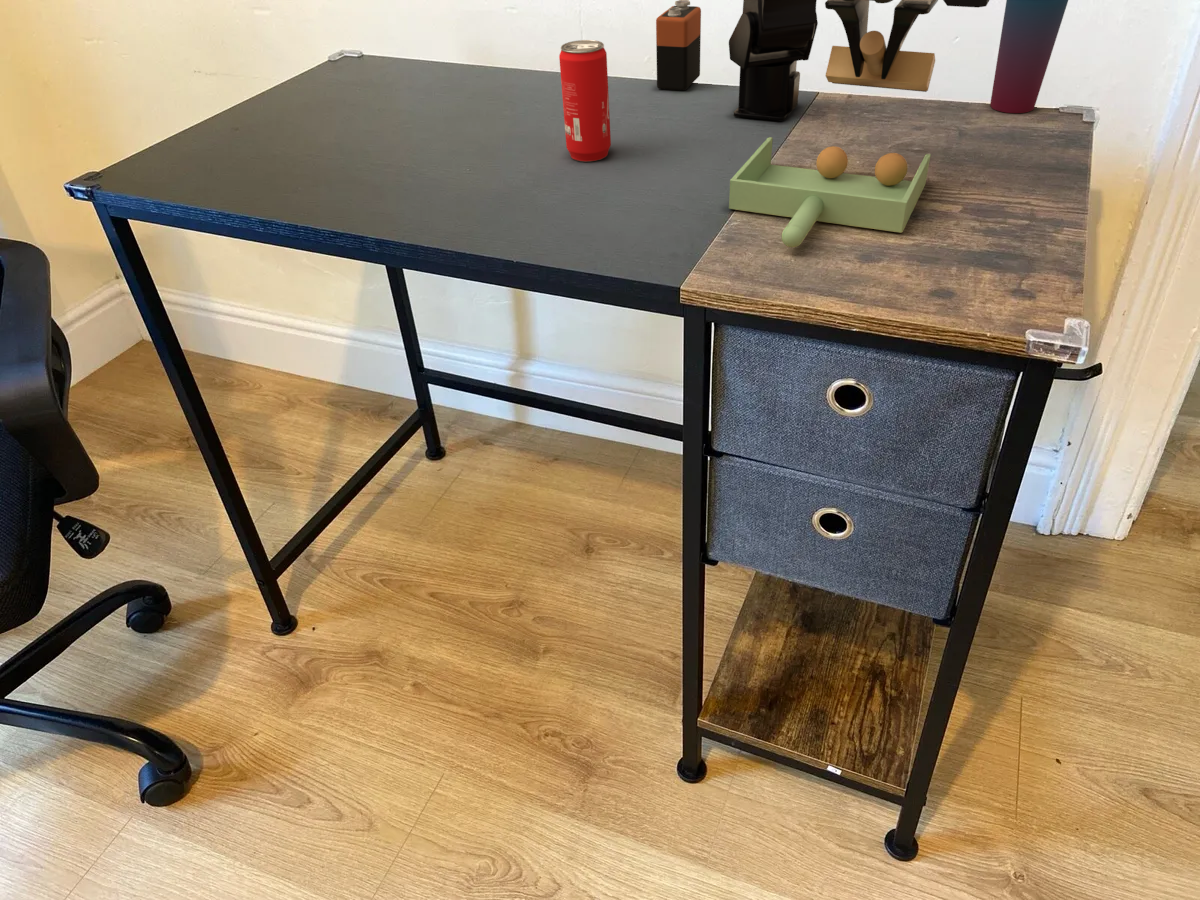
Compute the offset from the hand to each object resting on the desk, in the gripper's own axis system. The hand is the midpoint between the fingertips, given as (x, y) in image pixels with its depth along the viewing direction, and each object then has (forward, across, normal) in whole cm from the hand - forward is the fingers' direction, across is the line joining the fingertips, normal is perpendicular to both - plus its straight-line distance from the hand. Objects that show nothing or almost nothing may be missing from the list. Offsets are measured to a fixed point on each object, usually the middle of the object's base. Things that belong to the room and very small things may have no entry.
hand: (871, 77), depth 85 cm
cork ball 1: (+9, -3, 0) cm, 9 cm away
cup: (+11, +12, +29) cm, 33 cm away
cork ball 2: (+9, +3, 0) cm, 9 cm away
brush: (+1, 0, +5) cm, 6 cm away
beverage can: (+11, -31, -1) cm, 33 cm away
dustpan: (+11, -2, -8) cm, 14 cm away
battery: (+11, -31, +27) cm, 42 cm away
